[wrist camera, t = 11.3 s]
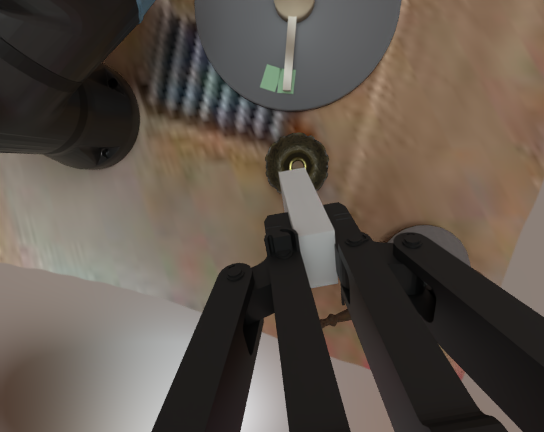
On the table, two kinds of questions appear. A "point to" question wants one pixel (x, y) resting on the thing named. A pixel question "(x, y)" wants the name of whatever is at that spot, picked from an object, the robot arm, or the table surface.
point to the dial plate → (295, 48)
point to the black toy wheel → (297, 159)
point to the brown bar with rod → (292, 30)
